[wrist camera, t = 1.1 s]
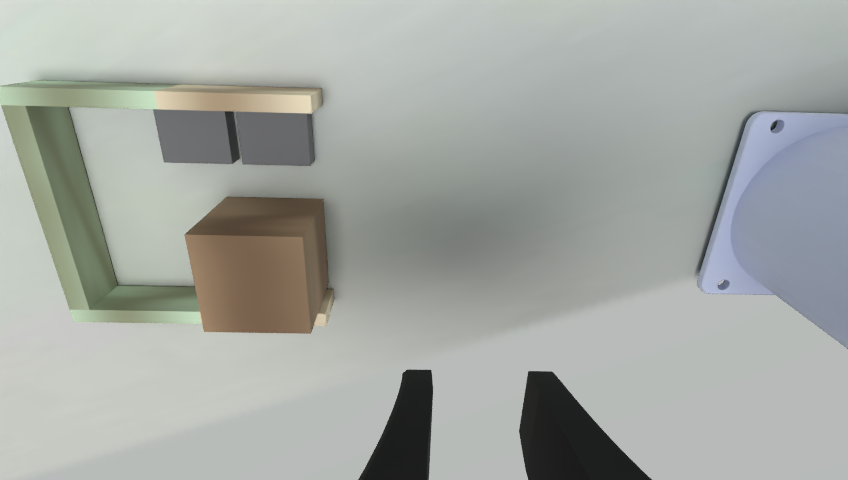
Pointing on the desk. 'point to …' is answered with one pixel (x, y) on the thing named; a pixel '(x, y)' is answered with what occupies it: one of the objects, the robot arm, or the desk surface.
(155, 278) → the desk surface
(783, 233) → the robot arm
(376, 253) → the desk surface
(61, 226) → the green beige u-shaped frame
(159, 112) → the tiles
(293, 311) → the block
